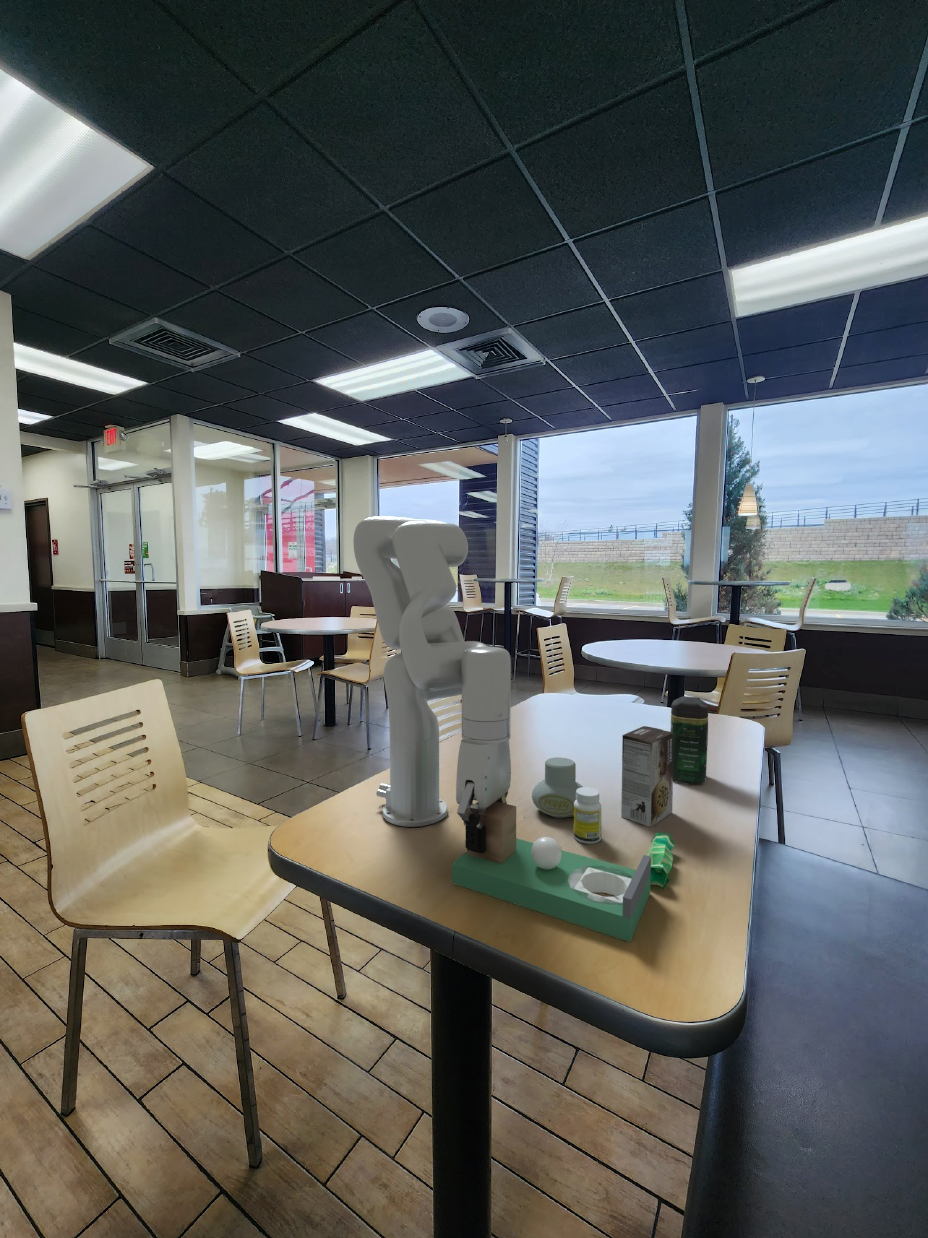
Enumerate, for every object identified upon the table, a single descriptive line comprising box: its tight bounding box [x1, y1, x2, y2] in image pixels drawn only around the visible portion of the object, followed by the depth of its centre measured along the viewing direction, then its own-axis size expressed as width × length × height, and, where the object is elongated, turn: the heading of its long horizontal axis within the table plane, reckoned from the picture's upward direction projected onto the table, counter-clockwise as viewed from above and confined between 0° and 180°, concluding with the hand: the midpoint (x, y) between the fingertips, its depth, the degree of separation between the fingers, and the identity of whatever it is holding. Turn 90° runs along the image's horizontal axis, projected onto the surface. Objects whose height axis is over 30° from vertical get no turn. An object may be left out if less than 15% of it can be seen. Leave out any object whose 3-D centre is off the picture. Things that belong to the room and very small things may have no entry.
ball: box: [531, 836, 562, 870], centre depth 77 cm, size 4×4×4 cm
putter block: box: [466, 801, 517, 864], centre depth 82 cm, size 6×5×7 cm
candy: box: [647, 832, 676, 890], centre depth 83 cm, size 12×3×4 cm
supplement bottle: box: [573, 786, 602, 845], centre depth 93 cm, size 5×5×8 cm
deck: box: [451, 837, 651, 943], centre depth 77 cm, size 26×12×6 cm, turn 60°
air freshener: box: [531, 756, 584, 819], centre depth 104 cm, size 11×8×10 cm
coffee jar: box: [669, 695, 709, 785], centre depth 121 cm, size 10×8×19 cm
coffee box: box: [620, 725, 674, 828], centre depth 102 cm, size 9×6×16 cm
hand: (486, 840), depth 83 cm, fingers open, 5 cm apart
